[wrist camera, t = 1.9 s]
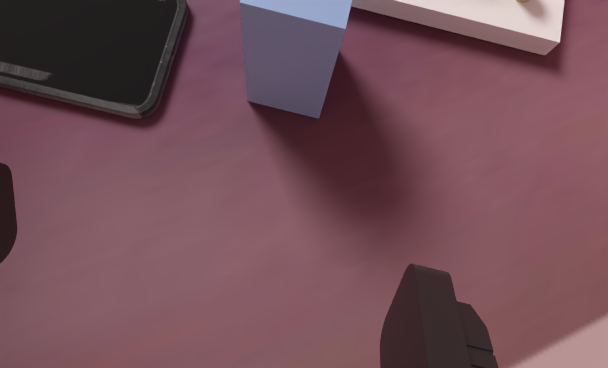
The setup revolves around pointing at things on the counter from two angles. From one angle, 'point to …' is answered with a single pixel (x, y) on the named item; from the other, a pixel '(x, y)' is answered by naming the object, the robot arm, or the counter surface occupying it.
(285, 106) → the block
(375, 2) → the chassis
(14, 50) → the phone
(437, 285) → the robot arm
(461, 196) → the counter surface
